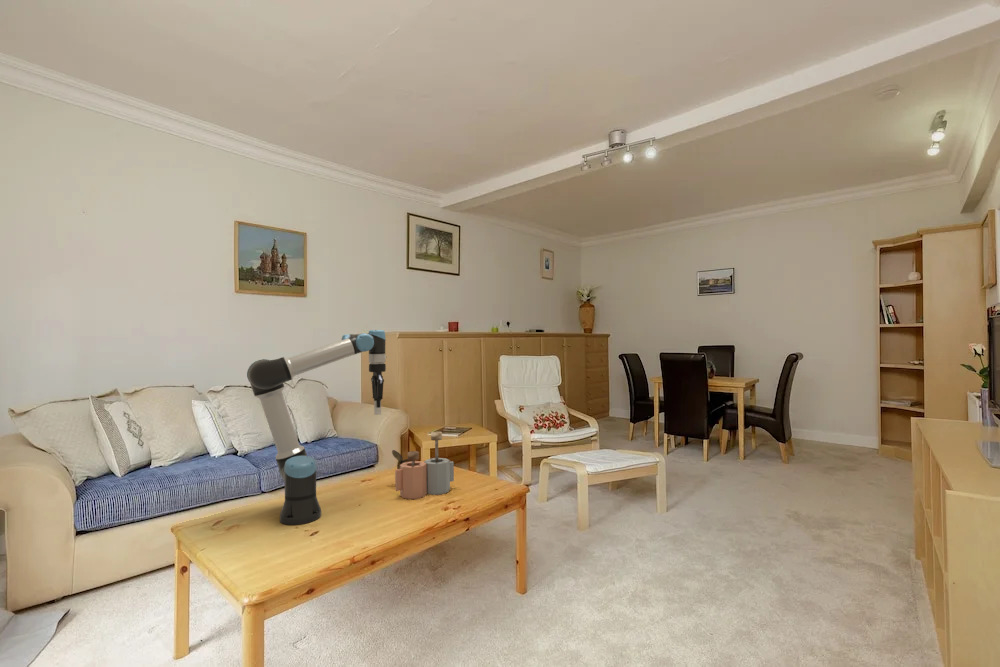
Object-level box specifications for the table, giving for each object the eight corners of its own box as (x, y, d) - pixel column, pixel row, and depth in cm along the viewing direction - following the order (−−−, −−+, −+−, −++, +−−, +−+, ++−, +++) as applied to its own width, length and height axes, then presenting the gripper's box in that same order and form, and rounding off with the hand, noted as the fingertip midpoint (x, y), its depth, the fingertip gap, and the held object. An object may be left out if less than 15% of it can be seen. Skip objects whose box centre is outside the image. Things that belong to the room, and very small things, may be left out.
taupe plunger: (410, 490, 213) (409, 454, 213) (406, 487, 217) (406, 452, 217) (420, 488, 215) (420, 452, 216) (416, 485, 220) (416, 450, 220)
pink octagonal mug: (399, 501, 207) (399, 469, 208) (392, 495, 217) (391, 464, 217) (429, 496, 214) (429, 465, 214) (420, 490, 224) (420, 460, 224)
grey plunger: (433, 469, 219) (433, 433, 219) (429, 466, 223) (429, 432, 223) (444, 467, 221) (443, 432, 222) (439, 465, 226) (439, 431, 226)
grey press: (430, 496, 214) (430, 465, 215) (421, 489, 224) (421, 460, 224) (458, 491, 221) (457, 460, 221) (448, 485, 231) (448, 456, 231)
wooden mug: (387, 485, 231) (387, 448, 231) (408, 479, 242) (408, 443, 242) (399, 489, 226) (398, 451, 226) (420, 482, 236) (420, 446, 236)
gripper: (389, 363, 217) (389, 415, 216) (381, 362, 228) (381, 412, 227) (372, 364, 213) (373, 416, 212) (365, 363, 224) (365, 413, 224)
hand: (377, 414), depth 220 cm, fingers closed
